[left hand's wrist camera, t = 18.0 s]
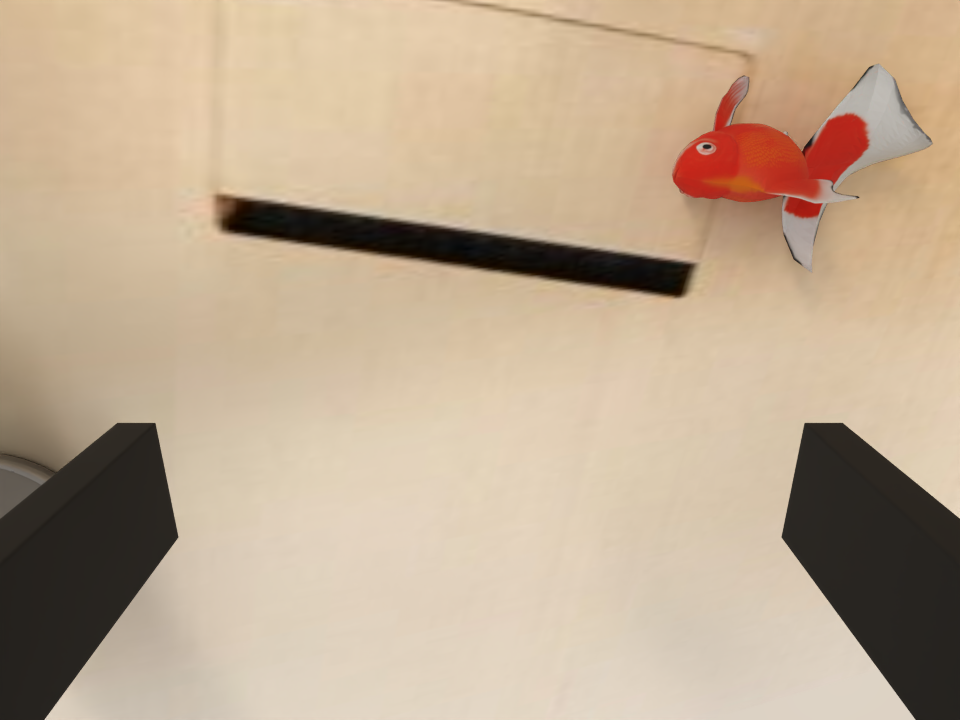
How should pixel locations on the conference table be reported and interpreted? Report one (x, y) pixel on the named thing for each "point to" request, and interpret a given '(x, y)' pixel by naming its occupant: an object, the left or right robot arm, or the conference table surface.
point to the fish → (799, 155)
